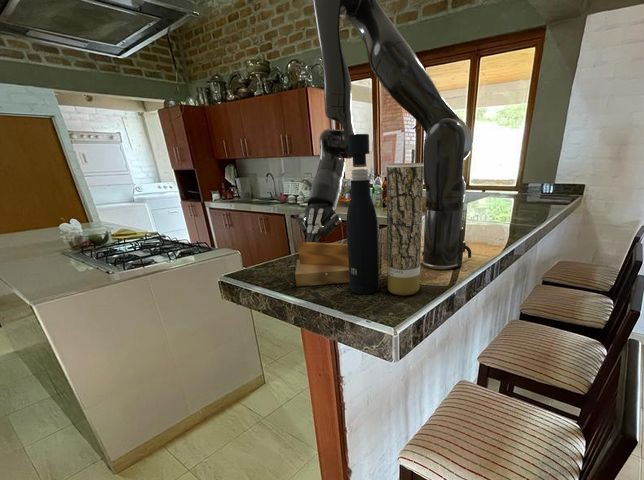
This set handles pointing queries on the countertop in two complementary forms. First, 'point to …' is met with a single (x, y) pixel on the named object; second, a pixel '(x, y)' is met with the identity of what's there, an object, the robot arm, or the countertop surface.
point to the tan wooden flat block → (323, 253)
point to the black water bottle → (361, 223)
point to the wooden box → (320, 274)
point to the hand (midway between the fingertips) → (310, 248)
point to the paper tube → (404, 226)
